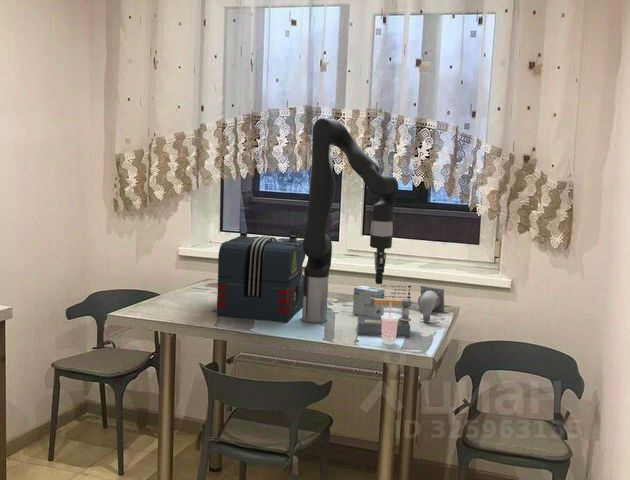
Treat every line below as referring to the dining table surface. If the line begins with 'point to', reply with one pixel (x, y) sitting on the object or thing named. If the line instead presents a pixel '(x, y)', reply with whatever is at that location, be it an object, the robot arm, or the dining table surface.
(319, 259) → the robot arm
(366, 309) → the light bulb box
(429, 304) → the lightbulb
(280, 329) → the dining table surface
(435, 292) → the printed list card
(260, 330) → the dining table surface
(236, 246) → the power unit
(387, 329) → the beverage cup
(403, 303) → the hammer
